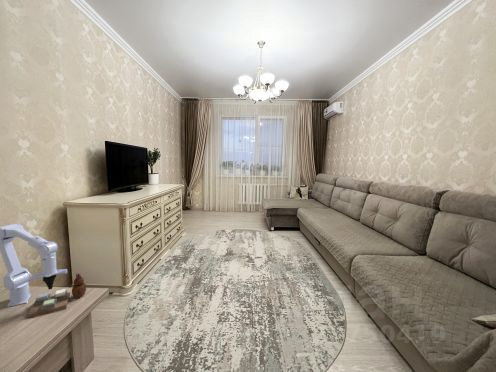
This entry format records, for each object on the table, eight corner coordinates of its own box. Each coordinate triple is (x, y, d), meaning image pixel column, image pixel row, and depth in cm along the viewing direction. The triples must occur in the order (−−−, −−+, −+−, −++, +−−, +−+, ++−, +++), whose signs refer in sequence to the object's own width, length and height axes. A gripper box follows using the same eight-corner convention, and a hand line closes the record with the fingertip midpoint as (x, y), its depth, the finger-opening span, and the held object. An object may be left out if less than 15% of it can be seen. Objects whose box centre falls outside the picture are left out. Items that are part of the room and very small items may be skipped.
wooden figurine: (78, 300, 127) (77, 275, 125) (69, 298, 128) (68, 274, 127) (88, 293, 133) (87, 270, 132) (80, 292, 135) (79, 268, 133)
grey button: (39, 298, 123) (38, 294, 122) (48, 296, 125) (48, 292, 124) (37, 301, 119) (36, 298, 119) (47, 299, 121) (46, 295, 121)
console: (36, 303, 123) (35, 296, 123) (70, 295, 131) (69, 289, 131) (28, 318, 111) (27, 310, 111) (66, 308, 119) (65, 301, 119)
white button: (56, 294, 127) (56, 290, 126) (65, 292, 129) (65, 288, 128) (55, 297, 123) (55, 294, 123) (64, 295, 125) (64, 292, 125)
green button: (45, 304, 119) (44, 300, 119) (54, 302, 121) (54, 298, 121) (43, 308, 115) (43, 304, 115) (53, 306, 118) (53, 302, 117)
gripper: (28, 270, 113) (30, 295, 114) (65, 264, 121) (66, 288, 122) (32, 265, 119) (34, 289, 120) (67, 260, 127) (68, 282, 128)
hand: (50, 288), depth 122 cm, fingers closed
